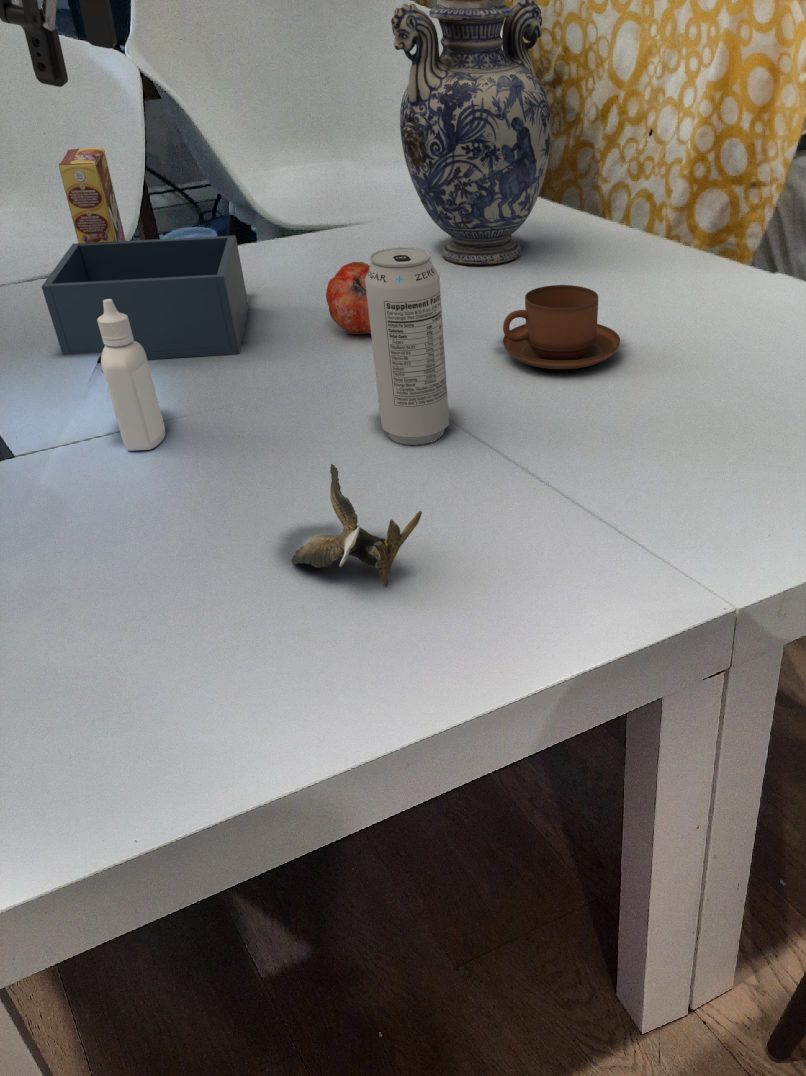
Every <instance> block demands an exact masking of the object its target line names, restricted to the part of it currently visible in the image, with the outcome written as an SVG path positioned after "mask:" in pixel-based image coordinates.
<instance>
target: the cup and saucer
mask: <svg viewBox="0 0 806 1076" xmlns="http://www.w3.org/2000/svg"><path fill="white" fill-rule="evenodd" d="M598 314H599V294H598V293H597V292H596V291H595V290H593V289H591V288H588V287H585V286H581V285H580V286H579V285H572V284H571V285H570V284H568V285H567V284H554V285H545V286H540V287H537V288H533V289H531V290H529V291H528V292H526V294H525V296H524V309H518V310H517V309H516V310H514V311H512V312H510V313H509V314H507V316H506V317H505V318H504V320H503V323H502V330H503V334H504V336H503V338H502V344H503V347H504V349H505V351H506V352H507V353H508V354H509V355H510V356H511V357H512V358H513V359H515V360H517V361H519V362H520V363H523V364H526V365H528V366H532V367H535V368H540V369H547V370H549V369H550V370H574V369H582V368H587V367H591V366H595V365H597V364H600V363H602V362H604V361H606V360H608V359H609V358H610V357H612V356H613V355H614V354H615V353H616V352H617V351H618V349H619V347H620V343H621V338H620V335H619V334H618V333H617V332H616V331H615V330H614V329H612V328H610V327H608V326H606V325H603V324H599V323H598V318H599V317H598V316H599V315H598ZM516 318H522V319H525V323H524V324H521V325H519V326H516V327H513V328H512V329H510V326H511V323H512V322H513V320H514V319H516Z"/></svg>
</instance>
